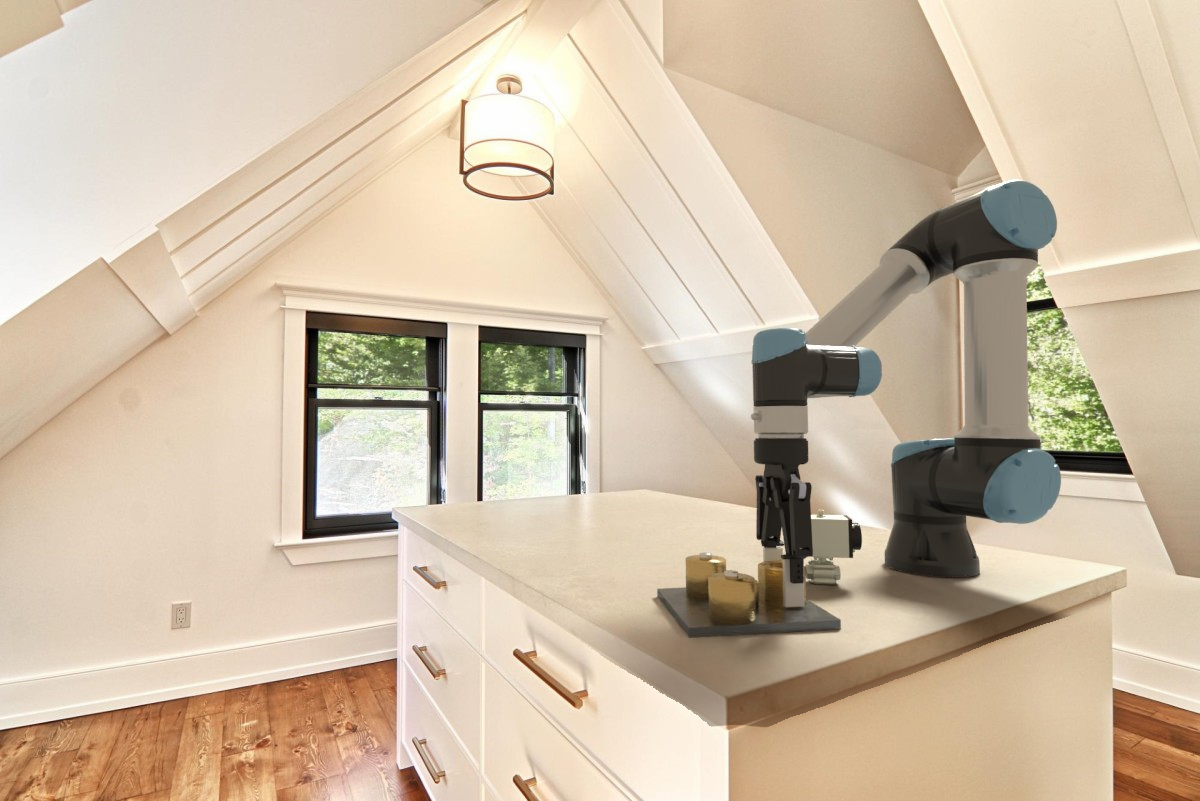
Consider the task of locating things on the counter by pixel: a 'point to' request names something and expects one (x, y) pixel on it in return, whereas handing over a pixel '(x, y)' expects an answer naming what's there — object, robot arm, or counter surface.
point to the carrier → (734, 604)
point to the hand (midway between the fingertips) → (783, 598)
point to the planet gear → (773, 583)
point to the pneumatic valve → (831, 546)
